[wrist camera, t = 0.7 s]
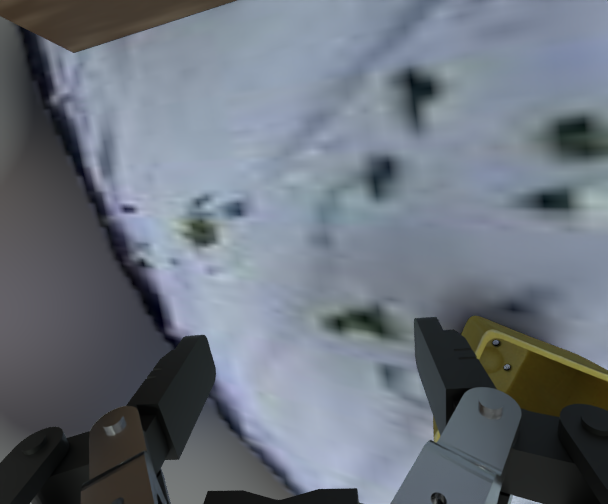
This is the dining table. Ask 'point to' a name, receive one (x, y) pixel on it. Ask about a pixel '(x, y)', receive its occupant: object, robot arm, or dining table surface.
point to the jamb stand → (97, 18)
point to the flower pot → (534, 370)
